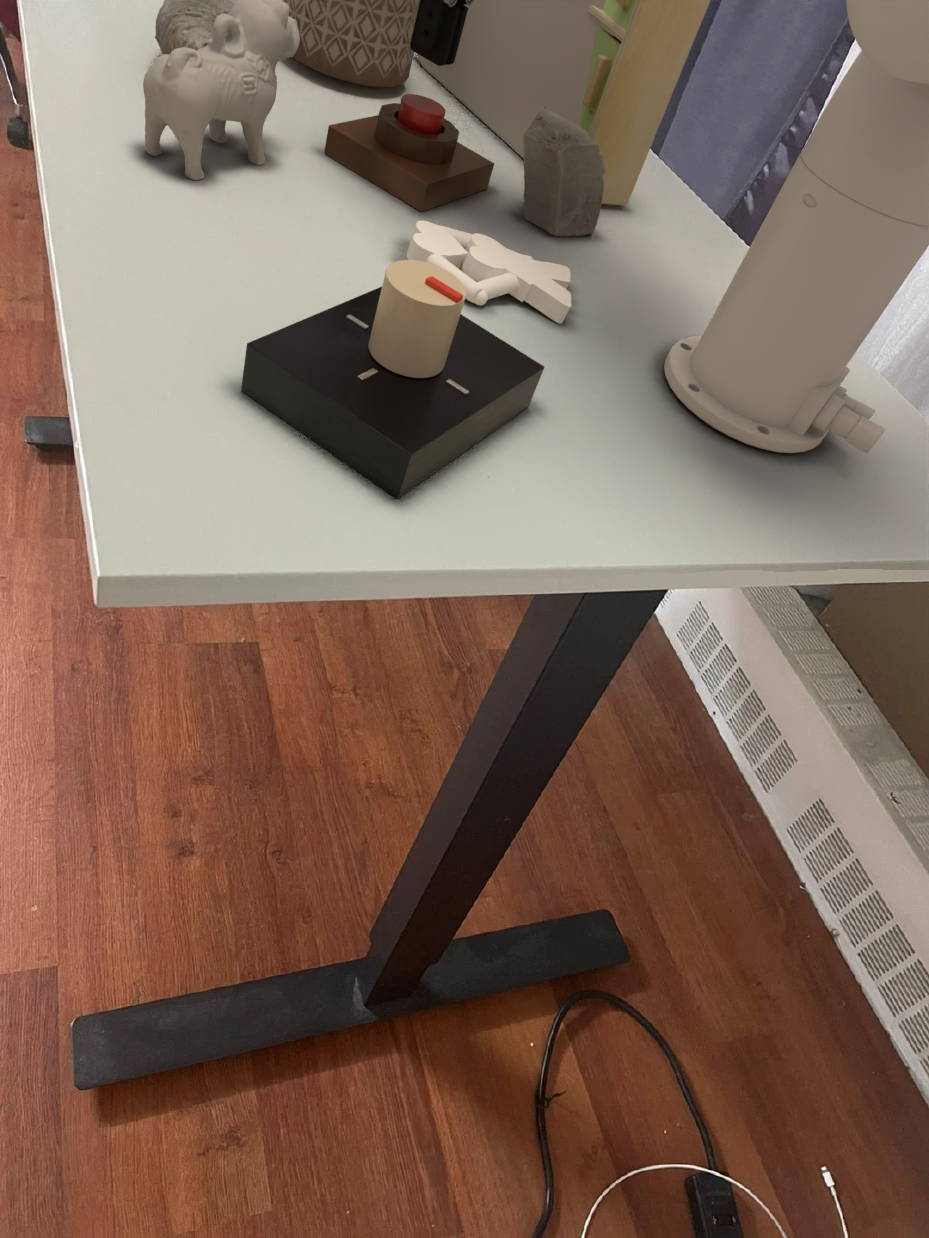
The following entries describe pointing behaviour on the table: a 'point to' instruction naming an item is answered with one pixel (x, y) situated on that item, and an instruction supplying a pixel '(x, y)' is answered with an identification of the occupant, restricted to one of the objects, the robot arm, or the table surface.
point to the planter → (356, 39)
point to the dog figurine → (220, 82)
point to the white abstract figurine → (492, 268)
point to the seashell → (188, 23)
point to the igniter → (409, 159)
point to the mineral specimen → (562, 176)
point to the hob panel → (386, 393)
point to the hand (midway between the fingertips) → (431, 57)
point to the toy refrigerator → (634, 81)
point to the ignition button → (421, 114)
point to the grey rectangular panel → (521, 62)
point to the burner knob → (416, 318)
